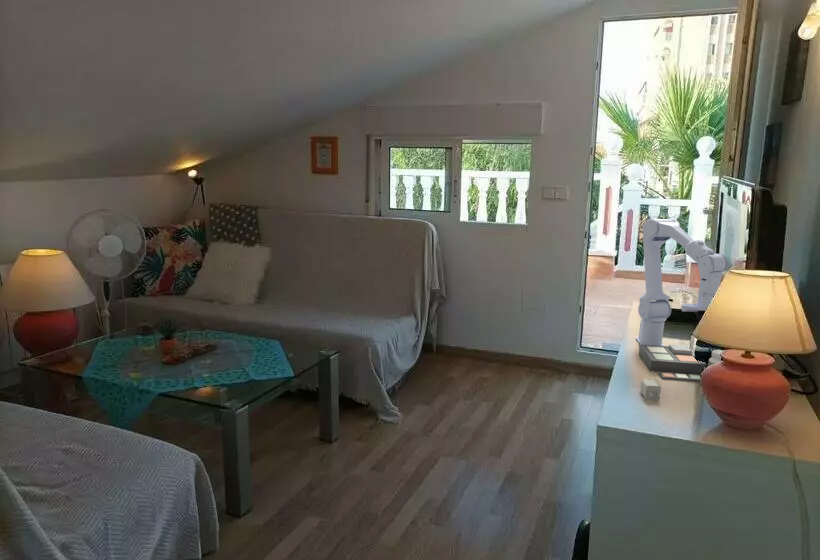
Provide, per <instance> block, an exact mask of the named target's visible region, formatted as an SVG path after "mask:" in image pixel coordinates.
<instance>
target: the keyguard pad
mask: <svg viewBox="0 0 820 560" xmlns="http://www.w3.org/2000/svg"><path fill="white" fill-rule="evenodd" d="M647 346H648V347H663V348H665V350H666V351H667V352H668V353H659V352H650V351H649V350H648V349H647ZM638 348H639V349H638V356H639V357H640V359H641V360H642V362H643V363H644V365H645V366H646V367H647V369H648V370H649V372H650V371H654V372H653V373H673V374H687V375H700V374H701V372H702V369H703V368H704V367H705V366H706V367H707V363H706V362H705V361H704V362H702V361H699V360H698V362H689V361H679V360H678V359H677V358H676V357H675V355H685V356H693V357H694V355H693V352H691V355H688V354H673V353H672V352H671V351H670V350H669V345H664V346H657V345H642V344H640V343H639V347H638ZM688 348H689V349H690V350H691V351H692V350H693V349H692V348H691V347H688ZM652 353H655V354H670V355H671V357H672V358H673V359H674V360H675V361H674V360H660V359H655V358H654V356H653V355H652Z"/></svg>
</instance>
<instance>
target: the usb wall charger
mask: <svg viewBox="0 0 820 560" xmlns="http://www.w3.org/2000/svg"><path fill="white" fill-rule="evenodd" d="M661 392H662V388H661V385H659V384H658V382H657V381H656V380H654V379H642V380H641V381H640V393H641V395H643V397H644V398H645V400H657V401H658V400H660V398H661Z"/></svg>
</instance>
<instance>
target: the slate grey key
mask: <svg viewBox="0 0 820 560" xmlns="http://www.w3.org/2000/svg"><path fill="white" fill-rule="evenodd" d="M668 346H669V350H670V351H671V352H672V353H673V354H688V355H691V352H692V351H691V350H690V349H689V348H690V347H689V346H688V345H685V344H681V345H680V344H670V343H669V344H668Z"/></svg>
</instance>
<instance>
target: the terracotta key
mask: <svg viewBox="0 0 820 560" xmlns="http://www.w3.org/2000/svg"><path fill="white" fill-rule="evenodd" d="M675 357H676V358H677V359H678V360H679V361H689V362H698V361H697V360H696V359H695V358H694V357H693V356H685V355H675Z"/></svg>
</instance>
